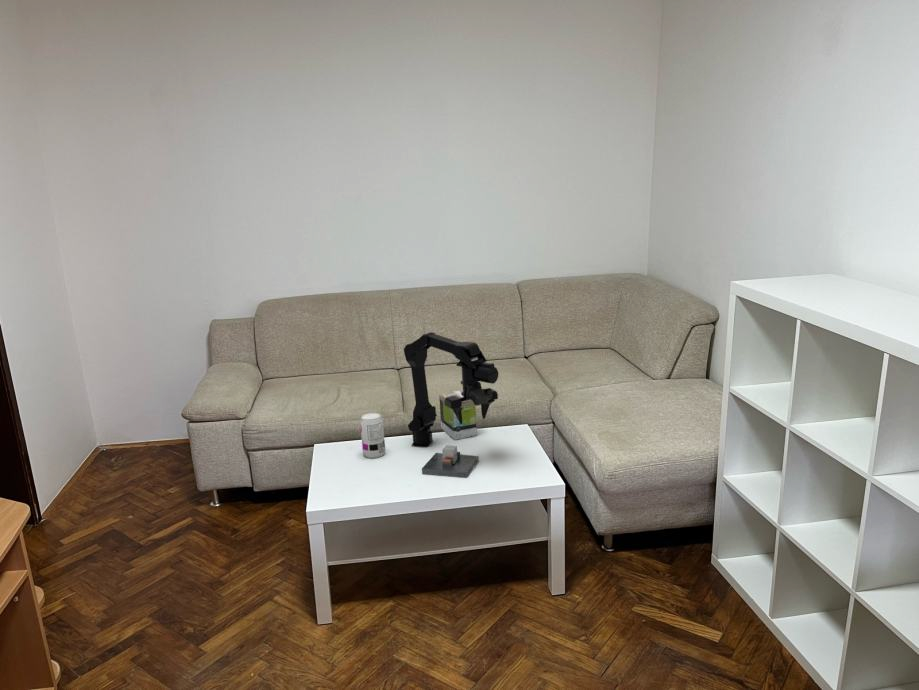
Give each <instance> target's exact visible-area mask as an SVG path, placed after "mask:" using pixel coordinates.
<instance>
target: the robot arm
mask: <svg viewBox="0 0 919 690" xmlns="http://www.w3.org/2000/svg"><path fill="white" fill-rule="evenodd" d="M431 347H432V348H435V349H438V350H440V351H443V352H447V353H448V354H452V355H453V356H454V357H455V359H456V360H459V361H458V362H457V363H456V367H461V380H460V385H461V386H462V391H463V392H461V395H462V396H463V397H461V398H458V397H456V396H450V397H446V398H445V400H444V403H445V405H446V406H447V407H449V408H451V409H453V411H454V413H455V415H456V417H457V419H458V421H459V423H460V424H462V412H461V411H462V409H463V408H462V407H461V405H462V403H464V402H469V401H473V403H474V404H475V405H476V407H477V406H480V409H481V417H482V419H483V420H485V419H486V418H487V417H486V416H487V413H488V410H489V408H490V406H491V405H492V404H493V403H494V402H495V401H496V400H498V399H499V393H498V392H497V391H496V390H495V389H493V388H491V387H487V388H482V384H481V382H483V383H485V384H486V383H488V384H491V385H492V384H495V383H496V382H497V381H498V378H499V371H498V368H497V367H496V366H495V363H493V362H489V363H488V362H487V361H488V360H487V358H486V357H485V355H484V354H483V352H482V350H481V348H480V347H479V344H478V343H476V342H472V341H457V340H454V339H451V338H447V337H445V336H442V335H439V334H436V333H435V332H432V331H430V332H427V333H425V334H422V335H421V336H420V337H419V338H418V339H416V340H414V341H413V342H411V343H408V344H406V345H405V347H404V348H403V353H404V357H405V361H406V362H407V364H408V365H409V366H410V369H411V377H412V384H413V391H414V399H415V400H414V401H415V405H414V407H413V411H412V420H411V421H410V422H409V423H408V424H407V427H408V430H409V431H410V432H412V444H411V446H412V447H422V448H423V447H424V448H428V447H429V446H430V445H431V444H432V443H433V442H434V439H433V431H431V427H434V424H435V421H436V419H437V418H436V417H437V416H438V415H437V411H436V406H435V405H432V404H431V402H430V399H429V391H428V384H427V377H426V376H427V375H426V368H425V367H426V366H425V365H426V364H425V363H426V362H427V359H428V350H429V349H430V348H431Z"/></svg>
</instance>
